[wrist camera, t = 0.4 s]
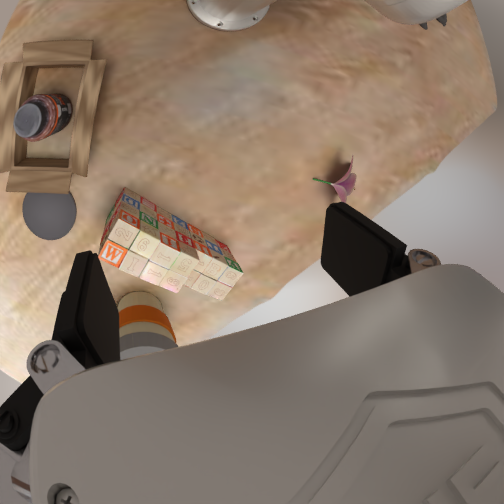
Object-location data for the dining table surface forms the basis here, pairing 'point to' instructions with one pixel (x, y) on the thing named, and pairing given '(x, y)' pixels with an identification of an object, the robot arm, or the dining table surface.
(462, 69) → the dining table surface
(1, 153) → the carton
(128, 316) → the reusable coffee cup
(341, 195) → the lily
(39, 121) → the supplement bottle
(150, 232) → the stack of blocks
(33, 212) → the coaster
